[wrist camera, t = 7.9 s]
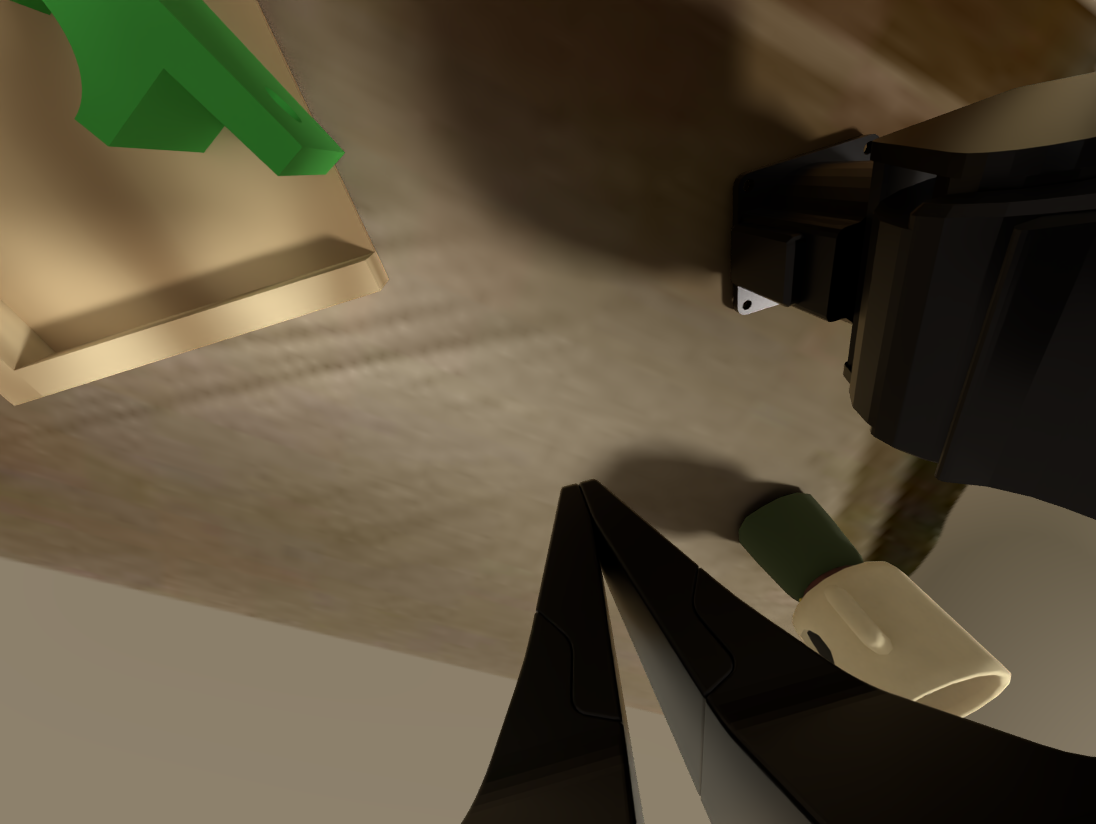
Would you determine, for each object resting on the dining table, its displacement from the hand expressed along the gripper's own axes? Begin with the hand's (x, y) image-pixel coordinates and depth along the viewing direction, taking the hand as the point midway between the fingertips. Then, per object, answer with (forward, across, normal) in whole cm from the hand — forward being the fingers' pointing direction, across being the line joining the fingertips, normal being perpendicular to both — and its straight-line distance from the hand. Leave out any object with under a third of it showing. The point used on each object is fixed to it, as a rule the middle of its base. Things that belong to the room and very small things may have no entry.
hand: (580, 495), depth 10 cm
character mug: (+12, -15, +19) cm, 28 cm away
